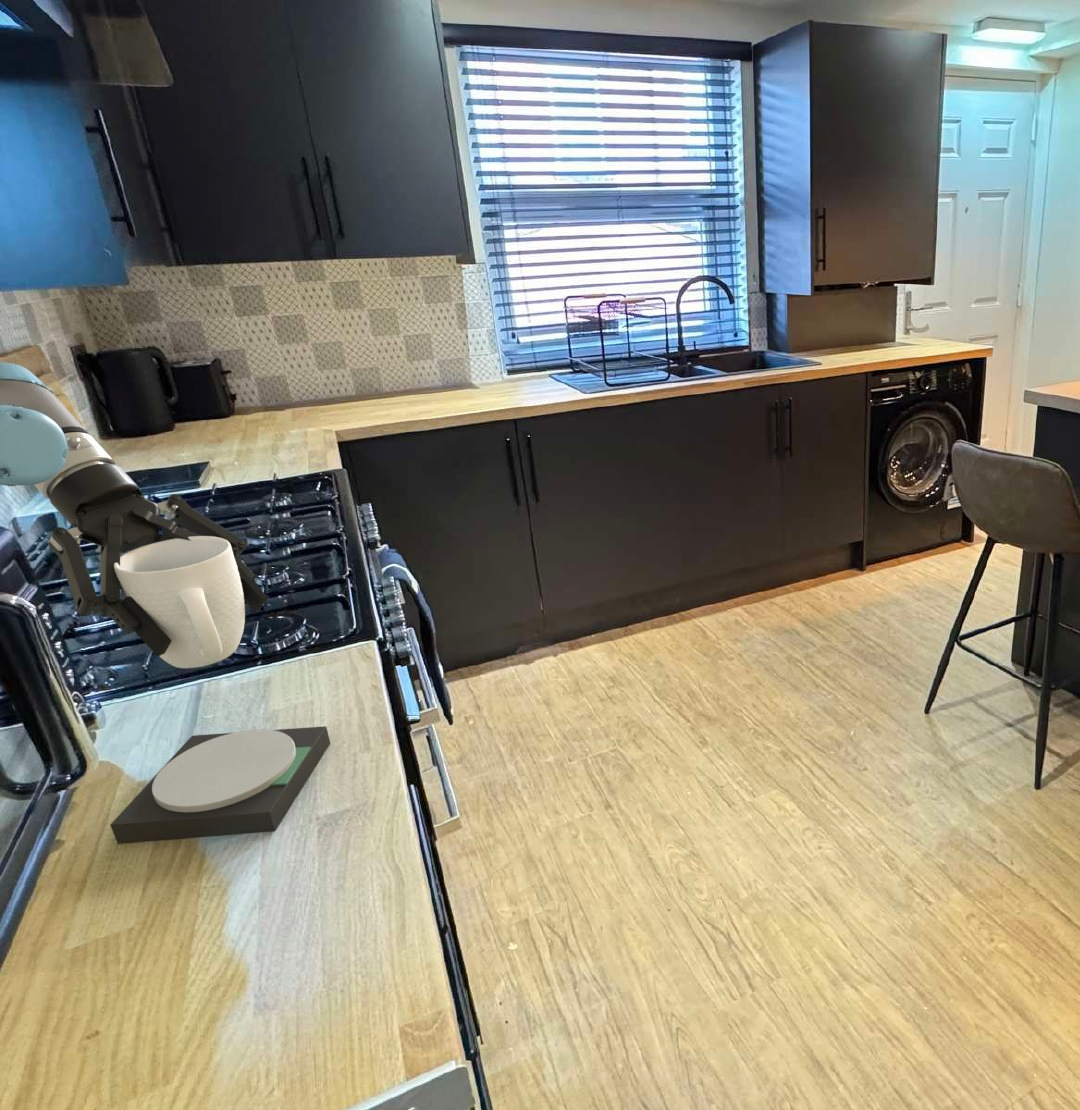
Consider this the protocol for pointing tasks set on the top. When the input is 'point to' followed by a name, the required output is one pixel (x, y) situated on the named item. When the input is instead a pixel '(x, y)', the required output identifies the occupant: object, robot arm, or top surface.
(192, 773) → the scale
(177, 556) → the mug
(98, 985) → the top surface
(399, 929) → the top surface
